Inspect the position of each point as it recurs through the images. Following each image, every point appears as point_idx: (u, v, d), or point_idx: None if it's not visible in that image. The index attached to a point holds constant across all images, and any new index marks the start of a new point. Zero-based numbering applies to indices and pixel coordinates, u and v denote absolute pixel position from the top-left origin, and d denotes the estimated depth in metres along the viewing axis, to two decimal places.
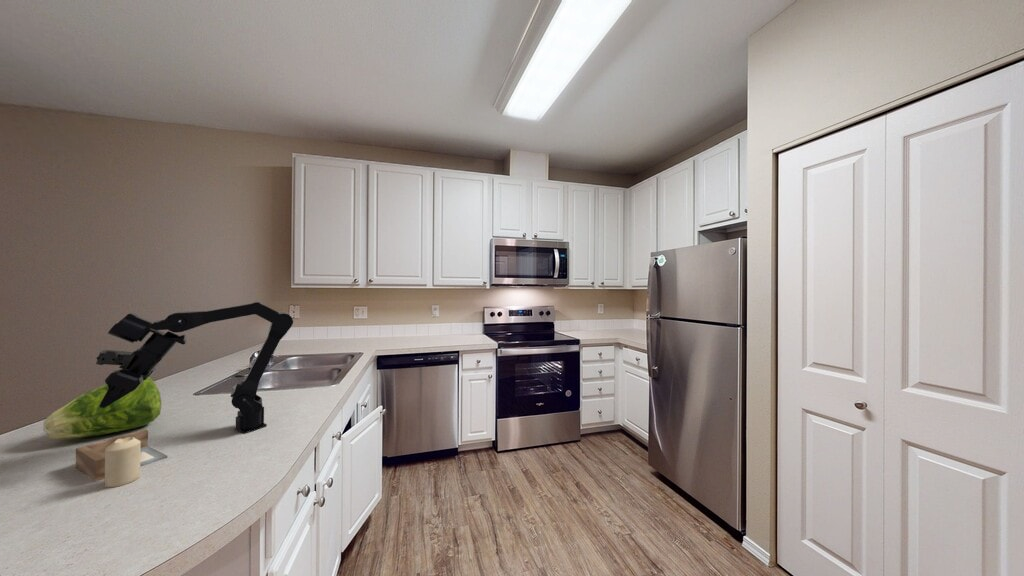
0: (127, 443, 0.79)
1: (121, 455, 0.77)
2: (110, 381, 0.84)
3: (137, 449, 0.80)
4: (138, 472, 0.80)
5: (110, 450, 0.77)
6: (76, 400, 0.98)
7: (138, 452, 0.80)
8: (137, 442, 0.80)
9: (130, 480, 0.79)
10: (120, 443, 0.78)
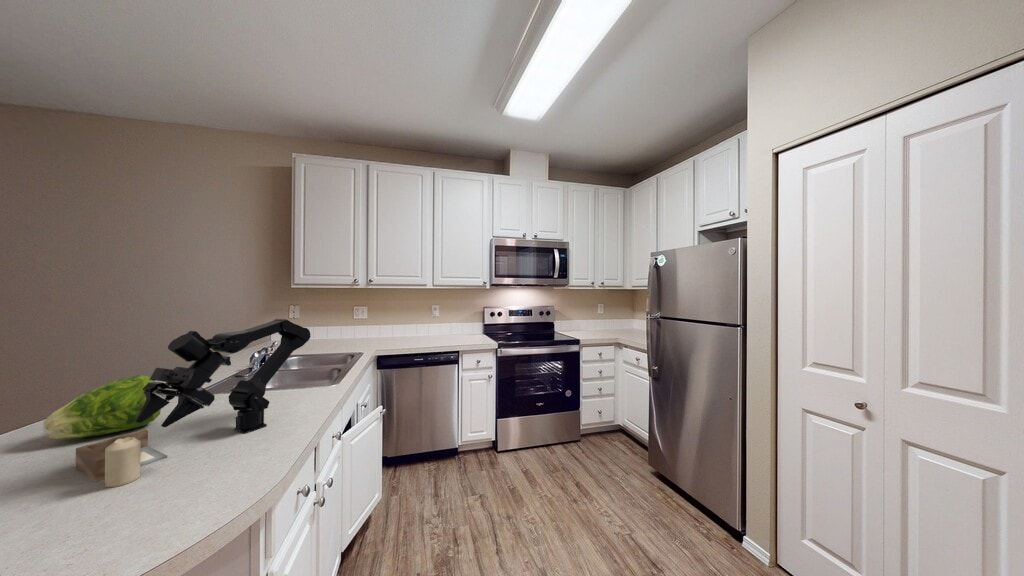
0: (127, 443, 0.79)
1: (121, 455, 0.77)
2: (196, 396, 0.86)
3: (137, 449, 0.80)
4: (138, 472, 0.80)
5: (110, 450, 0.77)
6: (76, 400, 0.98)
7: (138, 452, 0.80)
8: (137, 442, 0.80)
9: (130, 480, 0.79)
10: (120, 443, 0.78)
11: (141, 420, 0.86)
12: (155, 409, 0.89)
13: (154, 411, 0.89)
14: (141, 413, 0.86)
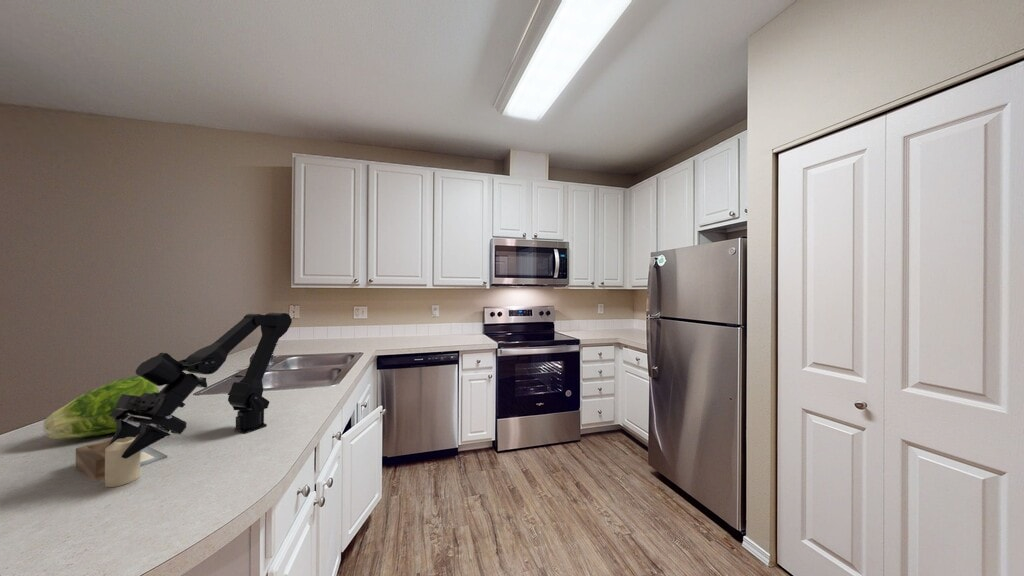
0: (127, 443, 0.79)
1: (121, 455, 0.77)
2: (165, 425, 0.79)
3: None
4: (138, 472, 0.80)
5: (110, 449, 0.77)
6: (76, 400, 0.98)
7: (138, 452, 0.80)
8: None
9: (130, 480, 0.79)
10: (120, 443, 0.78)
11: None
12: None
13: None
14: None
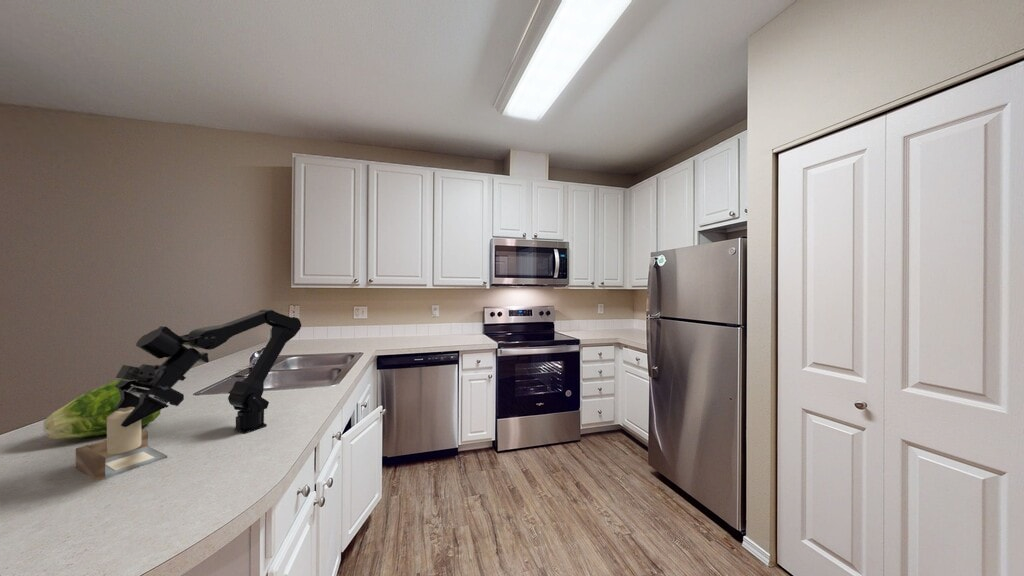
0: (127, 412, 0.80)
1: (120, 424, 0.79)
2: (161, 396, 0.81)
3: None
4: (139, 441, 0.82)
5: (110, 418, 0.79)
6: (76, 400, 0.98)
7: (138, 422, 0.82)
8: None
9: (130, 448, 0.80)
10: (120, 412, 0.80)
11: None
12: None
13: None
14: None
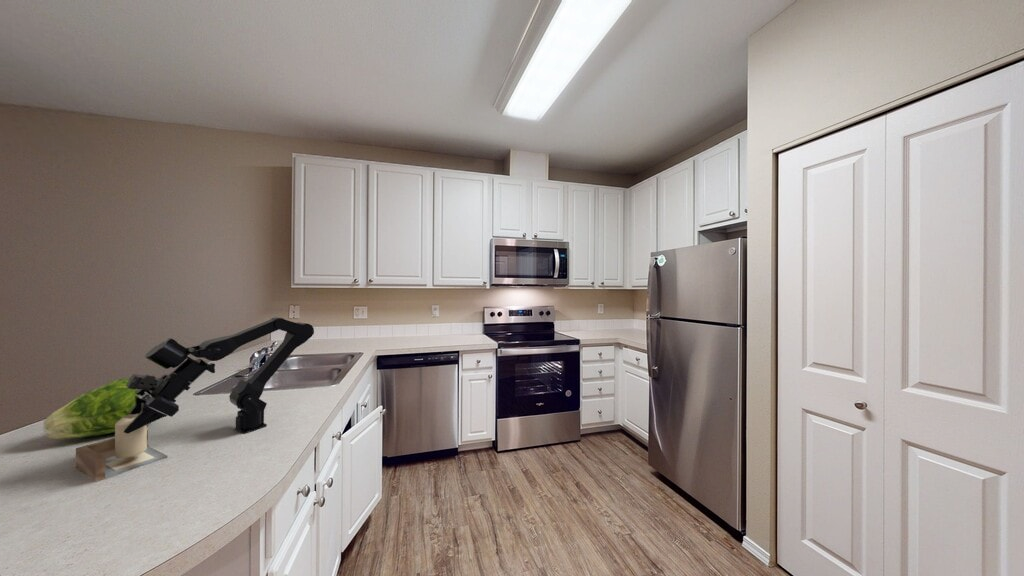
0: (131, 419, 0.86)
1: None
2: (153, 407, 0.84)
3: None
4: (142, 447, 0.87)
5: (117, 424, 0.85)
6: (76, 400, 0.98)
7: (141, 429, 0.87)
8: None
9: (133, 454, 0.86)
10: (125, 419, 0.86)
11: None
12: None
13: None
14: None
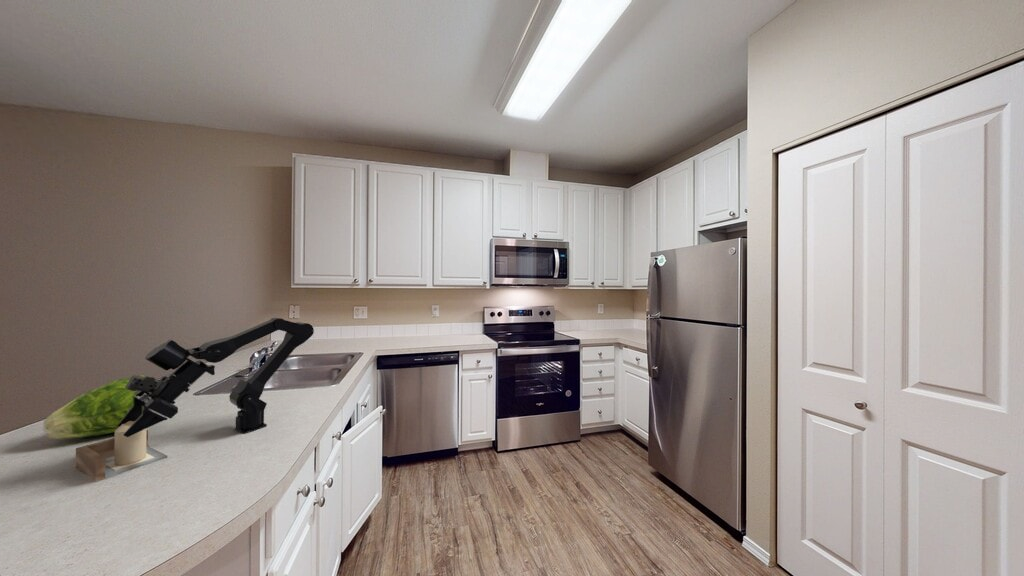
0: None
1: (123, 437, 0.85)
2: (153, 408, 0.84)
3: (139, 433, 0.87)
4: (141, 454, 0.87)
5: (116, 431, 0.85)
6: (76, 400, 0.98)
7: (141, 436, 0.87)
8: None
9: (132, 461, 0.86)
10: (125, 426, 0.86)
11: None
12: (140, 414, 0.92)
13: (138, 417, 0.91)
14: (123, 418, 0.89)
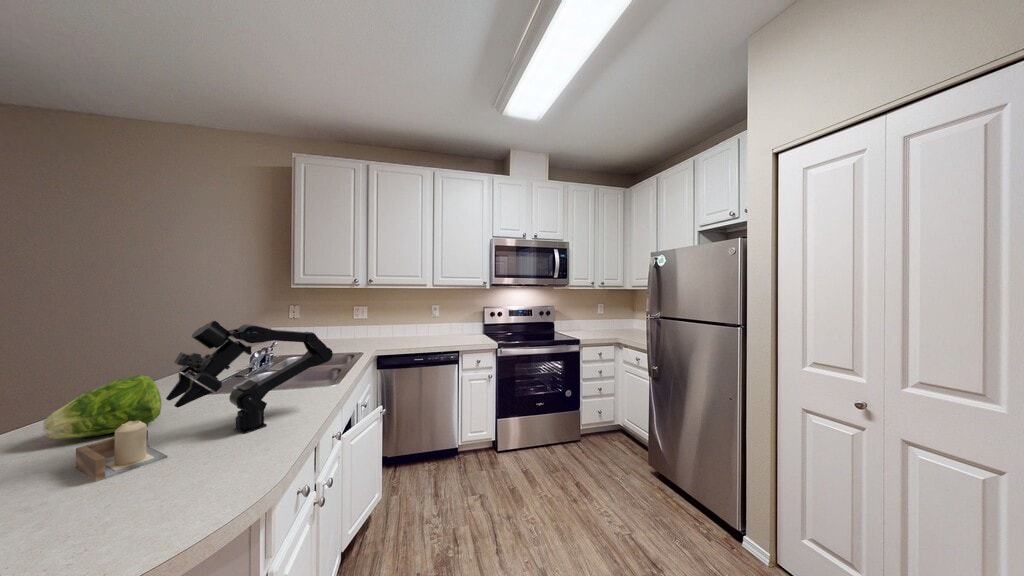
0: (131, 426, 0.86)
1: (123, 437, 0.85)
2: (201, 381, 0.91)
3: (139, 433, 0.87)
4: (141, 454, 0.87)
5: (116, 431, 0.85)
6: (76, 400, 0.98)
7: (141, 436, 0.87)
8: (141, 426, 0.87)
9: (132, 461, 0.86)
10: (125, 426, 0.86)
11: (170, 398, 0.96)
12: (185, 389, 0.99)
13: (184, 391, 0.99)
14: (171, 392, 0.97)
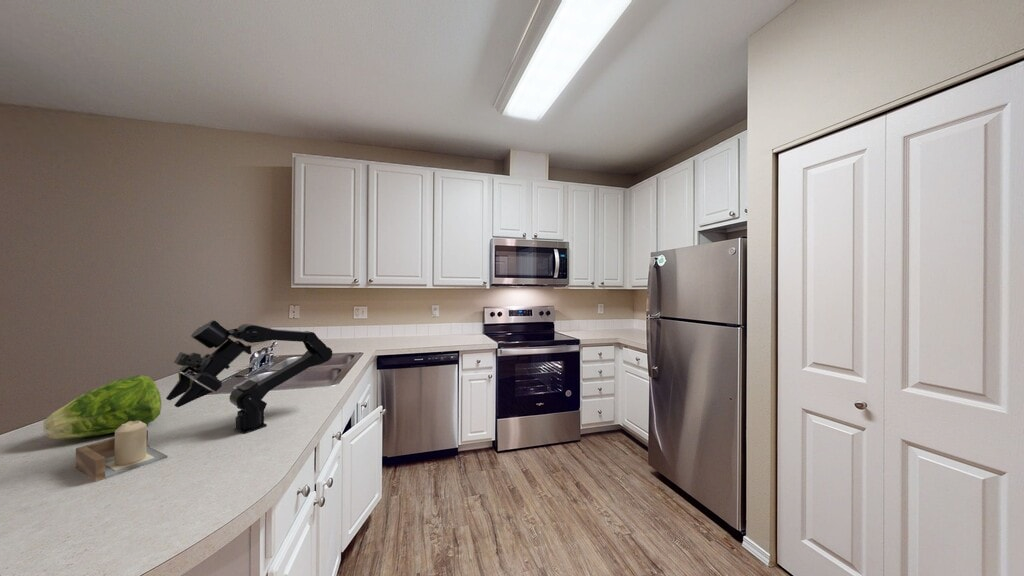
0: (131, 426, 0.86)
1: (123, 437, 0.85)
2: (201, 381, 0.91)
3: (139, 433, 0.87)
4: (141, 454, 0.87)
5: (116, 431, 0.85)
6: (76, 400, 0.98)
7: (141, 436, 0.87)
8: (141, 426, 0.87)
9: (132, 461, 0.86)
10: (125, 426, 0.86)
11: (171, 398, 0.96)
12: (185, 389, 0.99)
13: (184, 391, 0.99)
14: (171, 391, 0.97)
